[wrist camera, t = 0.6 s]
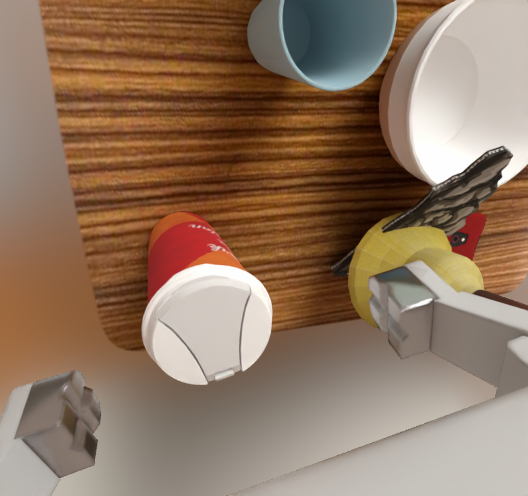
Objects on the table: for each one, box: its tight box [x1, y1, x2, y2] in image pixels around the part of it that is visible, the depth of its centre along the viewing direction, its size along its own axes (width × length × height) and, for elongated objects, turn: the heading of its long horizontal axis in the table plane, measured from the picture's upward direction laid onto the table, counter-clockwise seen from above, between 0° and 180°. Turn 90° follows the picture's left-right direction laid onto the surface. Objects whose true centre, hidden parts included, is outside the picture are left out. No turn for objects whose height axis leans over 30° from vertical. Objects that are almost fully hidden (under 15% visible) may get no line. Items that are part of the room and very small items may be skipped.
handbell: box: [348, 212, 528, 328], centre depth 27 cm, size 12×12×25 cm
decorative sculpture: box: [331, 146, 513, 277], centre depth 37 cm, size 20×1×10 cm
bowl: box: [379, 0, 528, 187], centre depth 34 cm, size 16×16×8 cm
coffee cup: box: [141, 212, 272, 385], centre depth 29 cm, size 8×8×15 cm
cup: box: [247, 0, 397, 91], centre depth 27 cm, size 8×8×10 cm
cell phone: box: [447, 213, 486, 261], centre depth 47 cm, size 8×15×1 cm, turn 173°
